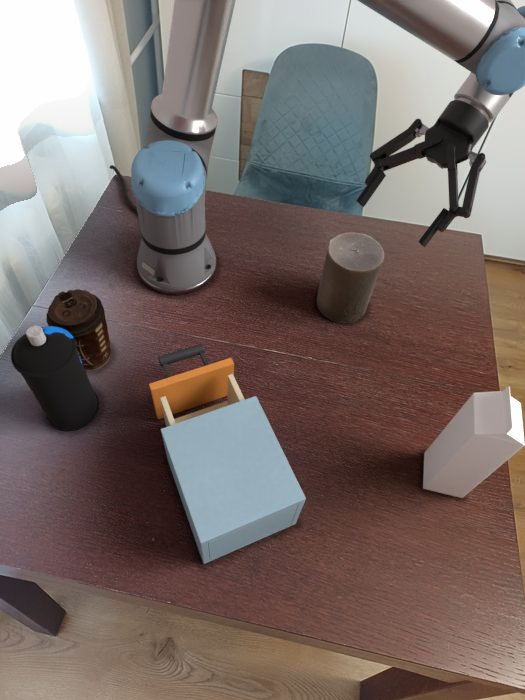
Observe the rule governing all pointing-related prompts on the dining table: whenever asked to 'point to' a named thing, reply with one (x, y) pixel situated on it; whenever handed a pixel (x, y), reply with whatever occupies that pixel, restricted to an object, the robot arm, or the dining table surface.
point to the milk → (474, 443)
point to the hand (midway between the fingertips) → (389, 223)
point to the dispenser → (232, 477)
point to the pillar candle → (349, 276)
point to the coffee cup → (82, 325)
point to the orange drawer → (193, 386)
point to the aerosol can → (56, 376)
